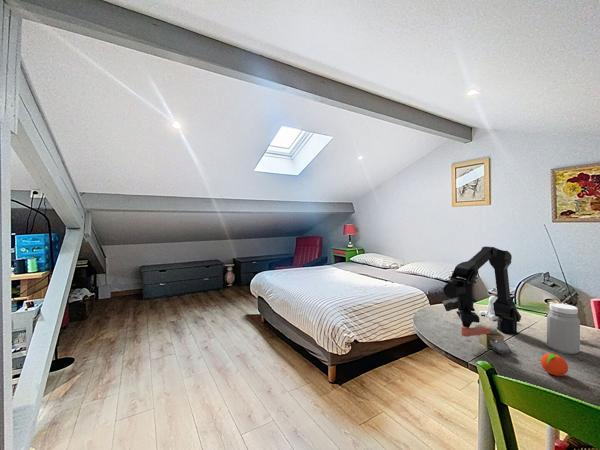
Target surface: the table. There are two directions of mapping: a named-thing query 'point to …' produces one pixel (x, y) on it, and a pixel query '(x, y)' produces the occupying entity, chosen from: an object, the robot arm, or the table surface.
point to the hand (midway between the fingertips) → (465, 330)
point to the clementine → (554, 364)
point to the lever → (478, 331)
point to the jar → (563, 328)
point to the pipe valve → (494, 342)
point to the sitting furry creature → (490, 309)
